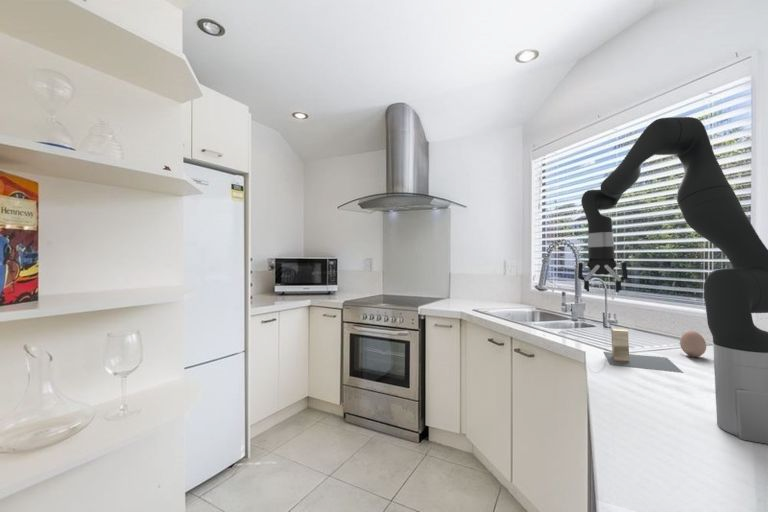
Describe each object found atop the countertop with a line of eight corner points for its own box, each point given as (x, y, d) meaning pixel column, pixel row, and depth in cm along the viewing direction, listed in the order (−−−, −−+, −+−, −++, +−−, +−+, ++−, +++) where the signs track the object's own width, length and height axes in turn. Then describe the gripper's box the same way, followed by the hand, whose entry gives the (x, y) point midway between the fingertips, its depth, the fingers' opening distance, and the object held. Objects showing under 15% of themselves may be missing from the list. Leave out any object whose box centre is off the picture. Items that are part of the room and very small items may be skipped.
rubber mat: (683, 375, 94) (683, 372, 94) (610, 367, 102) (609, 364, 102) (667, 359, 108) (666, 357, 108) (603, 353, 116) (603, 351, 116)
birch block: (629, 362, 104) (628, 331, 104) (614, 360, 106) (613, 330, 106) (626, 357, 109) (625, 328, 109) (612, 356, 111) (611, 327, 111)
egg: (712, 359, 106) (710, 332, 107) (688, 359, 108) (687, 332, 108) (697, 354, 113) (696, 328, 113) (675, 353, 114) (674, 328, 114)
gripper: (577, 246, 111) (579, 292, 111) (627, 244, 104) (629, 293, 104) (576, 246, 118) (578, 290, 118) (624, 245, 111) (625, 291, 110)
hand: (602, 291), depth 111 cm, fingers open, 8 cm apart
